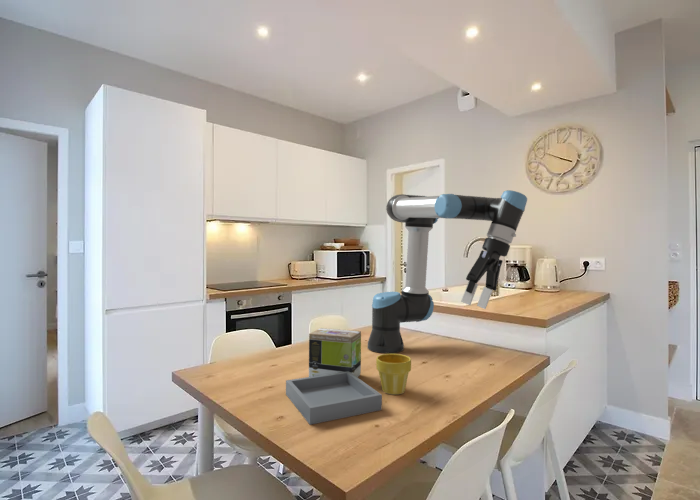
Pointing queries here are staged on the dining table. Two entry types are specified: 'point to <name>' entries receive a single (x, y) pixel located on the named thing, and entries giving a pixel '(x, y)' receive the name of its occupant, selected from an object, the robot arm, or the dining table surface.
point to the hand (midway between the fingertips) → (473, 305)
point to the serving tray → (332, 397)
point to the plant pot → (393, 372)
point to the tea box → (334, 352)
